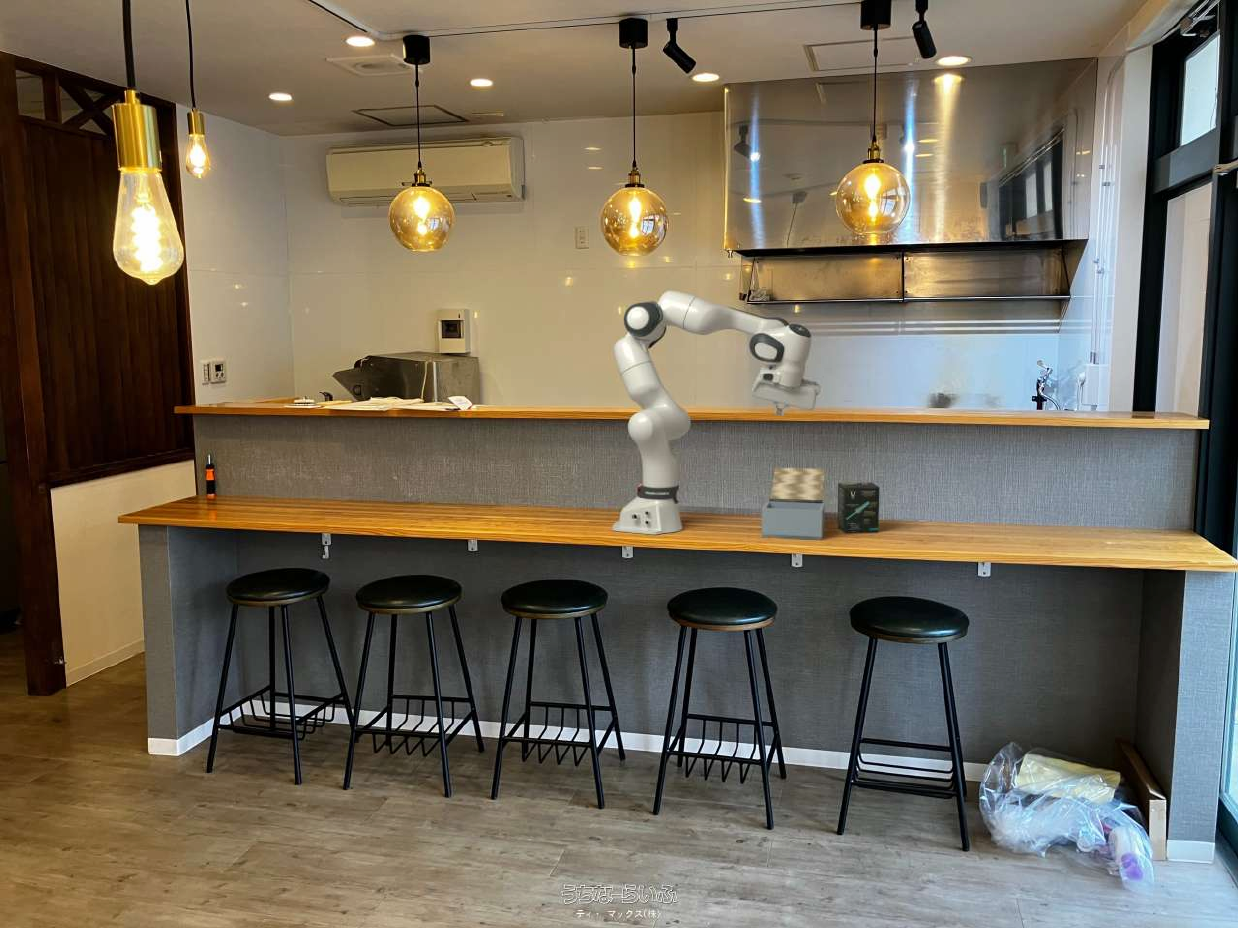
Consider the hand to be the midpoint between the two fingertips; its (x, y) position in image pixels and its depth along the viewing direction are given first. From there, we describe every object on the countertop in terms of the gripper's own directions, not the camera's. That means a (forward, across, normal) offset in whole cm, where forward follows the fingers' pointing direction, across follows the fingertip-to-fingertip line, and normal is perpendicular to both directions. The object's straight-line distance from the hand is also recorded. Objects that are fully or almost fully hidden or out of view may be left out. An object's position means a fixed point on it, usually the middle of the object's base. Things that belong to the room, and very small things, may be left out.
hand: (778, 414), depth 302 cm
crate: (+28, -14, +23) cm, 38 cm away
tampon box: (+27, -33, +12) cm, 44 cm away
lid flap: (+22, -12, +13) cm, 28 cm away
